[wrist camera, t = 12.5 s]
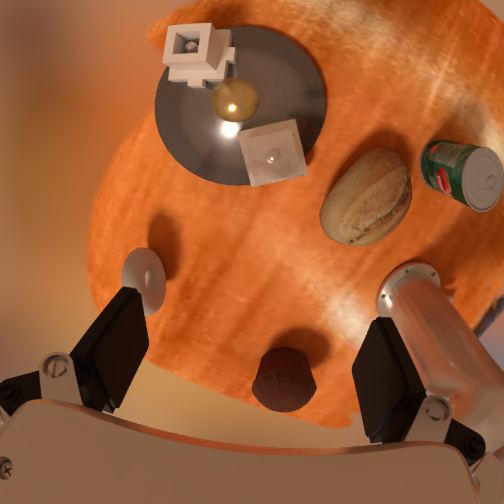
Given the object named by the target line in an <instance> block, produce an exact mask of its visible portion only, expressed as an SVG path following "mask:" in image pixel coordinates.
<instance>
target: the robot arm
mask: <svg viewBox="0 0 504 504" xmlns="http://www.w3.org/2000/svg"><path fill="white" fill-rule="evenodd" d="M453 300H454V297H453V295H446V294H445V293H444V292H443V291H442V290H441V281H440V277H439V275H438V273H437V271H436V270H435V269H434V268H433V267H432V266H431V265H429V264H427V263H425V262H411V263H407V264H405V265H403V266H400V267H399V268H397V269H396V270H394V271H393V272H392V273H391V274H390V275H389V276H388V277H387V278H386V279H385V281H384V282H383V283H382V285H381V287H380V289H379V291H378V294H377V298H376V307H377V311H378V314H379V316H380V317H377V318H376V320H373V321H372V323H371V325H370V327H369V330H368V332H367V334H366V337H365V339H364V341H363V344H362V346H361V348H360V350H359V352H358V355H357V357H356V359H355V361H354V363H353V365H352V375H353V379H354V383H355V388H356V392H357V396H358V401H359V405H360V410H361V415H362V420H363V424H364V429H365V434H366V436H367V437H369V438H370V443H378V442H382V444H378V445H368V446H356V447H341V448H315V449H314V448H311V449H310V448H307V449H306V448H304V449H303V448H273V447H259V446H248V445H238V444H231V443H224V442H216V441H211V440H204V439H199V438H194V437H189V436H184V435H179V434H175V433H170V432H166V431H162V430H158V429H154V428H150V427H147V426H143V425H140V424H137V423H133V422H130V421H127V420H124V419H120V418H117V417H114V416H111V415H108V414H105V413H103V412H102V410H103V411H106V412H109V413H112V414H113V412H114V410H115V408H119V407H120V405H121V403H122V401H123V399H124V397H125V395H126V393H127V390H128V388H129V386H130V384H131V382H132V380H133V378H134V376H135V374H136V372H137V370H138V367H139V366H140V364H141V362H142V360H143V358H144V356H145V354H146V352H147V350H148V347H149V338H148V333H147V327H146V321H145V315H144V308H143V302H142V295H141V293H139V292H138V290H137V289H136V288H132V287H126V286H123V287H122V288H121V289H120V290H119V291H118V293H117V294H116V295H115V296H114V298H113V299H112V300H111V301H110V302H109V304H108V305H107V306H106V307H105V309H104V310H103V311H102V312H101V314H100V315H99V316H98V317H97V319H96V320H95V321H94V322H93V324H92V325H91V326H90V328H89V329H88V330H87V332H86V333H85V334H84V335H83V337H82V338H81V340H80V341H79V342H78V343H77V345H76V346H75V347H74V349H73V350H72V352H71V353H70V354H69V355H68V354H66V353H64V352H54V353H51V354H48V355H47V356H46V357H44V358H43V360H42V361H41V363H40V365H39V370H38V371H35V372H32V373H28V374H24V375H21V376H17V377H13V378H9V379H6V380H4V381H3V382H1V383H0V504H504V446H503V445H504V371H503V370H502V369H501V368H500V366H499V365H498V364H497V363H496V362H495V361H494V359H493V358H492V357H491V356H490V354H489V353H488V352H487V350H486V349H485V348H484V346H483V345H482V343H481V342H480V341H479V339H478V338H477V336H476V335H475V334H474V332H473V331H472V330H471V328H470V327H469V326H468V324H467V323H466V322H465V320H464V319H463V318H462V316H461V315H460V314H459V312H458V311H457V310H456V309H455V307H454V306H453V305H452V302H453ZM424 387H425V388H424ZM425 389H427V390H428V391H429V392H431V393H433V394H435V395H430V396H428V397H427V395H426V393H425V392H426V390H425ZM441 396H442V397H441ZM443 397H446V398H450V399H449V401H447V400H446V399H445V398H443ZM501 446H502V447H501ZM500 447H501V448H500Z"/></svg>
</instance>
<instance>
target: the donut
mask: <svg viewBox="0 0 504 504" xmlns="http://www.w3.org/2000/svg"><path fill="white" fill-rule="evenodd" d="M121 281H122V287H123V286H126V287H132V288H136V289H137V290H138V292H139V293H141V295H142V302H143V308H144V315H145V316H149V315H152V314H155V313H156V312H157V311H158V310H159V309H160V308H161V306H162V304H163V302H164V299H165V294H166V275H165V271H164V267H163V264H162V261H161V259H160V258H159V256H158V255H157V254H156V253H155V252H154V251H153V250H151V249H149V248H142V247H140V248H137V249H135V250H134V251H132V252H131V253H130V254H129V255H128V257H127V258H126V260H125V263H124V266H123V269H122V277H121ZM145 283H146V284H145Z"/></svg>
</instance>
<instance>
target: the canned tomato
mask: <svg viewBox="0 0 504 504" xmlns="http://www.w3.org/2000/svg"><path fill="white" fill-rule="evenodd" d="M419 166H420V172H421V175H422V178H423V180H424V181H425V183H426V184H427V185H428V186H429V187H431V188H432V189H434V190H437V191H439V192H441V193H443V194H445V195H447V196H449V197H451V198H453V199H455V200H457V201H459V202H461V203H463V204H465V205H466V206H469V207H471V208H472V209H473V210H475V211H478V212H486V211H488V210H490V209H492V208H493V207H494V206H495V205H496V203H497V202H498V200H499V198H500V196H501V193H502V190H503V184H504V174H503V168H502V164H501V162H500V159H499V158H498V156H497V155H496V153H495V152H494V151H492V150H491V149H489V148H486V147H480V146H475V145H470V144H466V143H460V142H454V141H448V140H442V139H435V140H432V141H430V142H428V143H427V144H426V145H425V147H424V148H423V150H422V152H421V155H420V162H419Z"/></svg>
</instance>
